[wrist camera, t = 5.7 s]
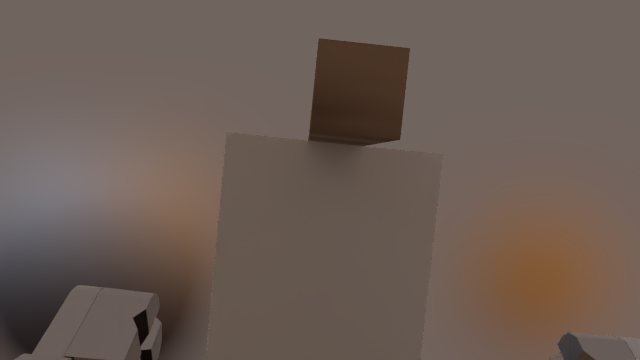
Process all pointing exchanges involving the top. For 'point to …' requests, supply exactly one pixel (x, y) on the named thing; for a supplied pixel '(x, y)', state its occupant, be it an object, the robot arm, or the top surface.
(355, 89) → the walnut bar
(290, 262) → the off-white pedestal
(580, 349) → the robot arm
